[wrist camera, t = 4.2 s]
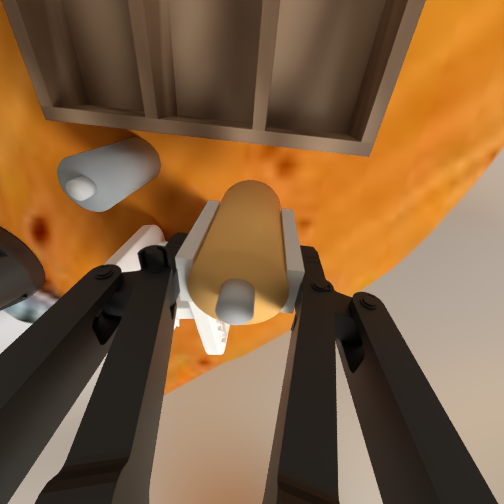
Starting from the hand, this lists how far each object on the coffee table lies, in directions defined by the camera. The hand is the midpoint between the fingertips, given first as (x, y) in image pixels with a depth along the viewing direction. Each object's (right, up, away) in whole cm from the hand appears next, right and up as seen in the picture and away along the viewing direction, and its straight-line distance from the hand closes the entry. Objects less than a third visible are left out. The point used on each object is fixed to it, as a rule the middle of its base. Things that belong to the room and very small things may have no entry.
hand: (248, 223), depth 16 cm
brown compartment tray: (-3, +15, +4) cm, 16 cm away
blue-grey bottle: (-12, +8, +10) cm, 18 cm away
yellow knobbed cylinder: (0, +1, +2) cm, 2 cm away
